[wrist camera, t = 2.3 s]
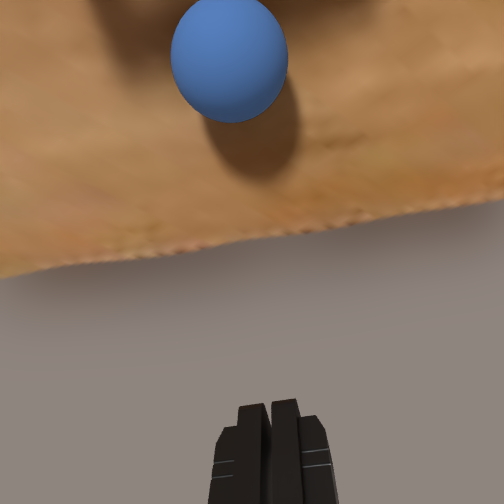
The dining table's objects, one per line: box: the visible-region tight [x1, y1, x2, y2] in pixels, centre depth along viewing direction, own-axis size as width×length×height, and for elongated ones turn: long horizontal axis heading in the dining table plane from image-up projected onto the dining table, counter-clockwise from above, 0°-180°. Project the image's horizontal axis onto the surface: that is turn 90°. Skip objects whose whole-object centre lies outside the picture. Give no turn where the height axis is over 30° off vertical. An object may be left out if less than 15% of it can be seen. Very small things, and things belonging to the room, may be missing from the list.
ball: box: [171, 0, 288, 123], centre depth 20 cm, size 6×6×6 cm
